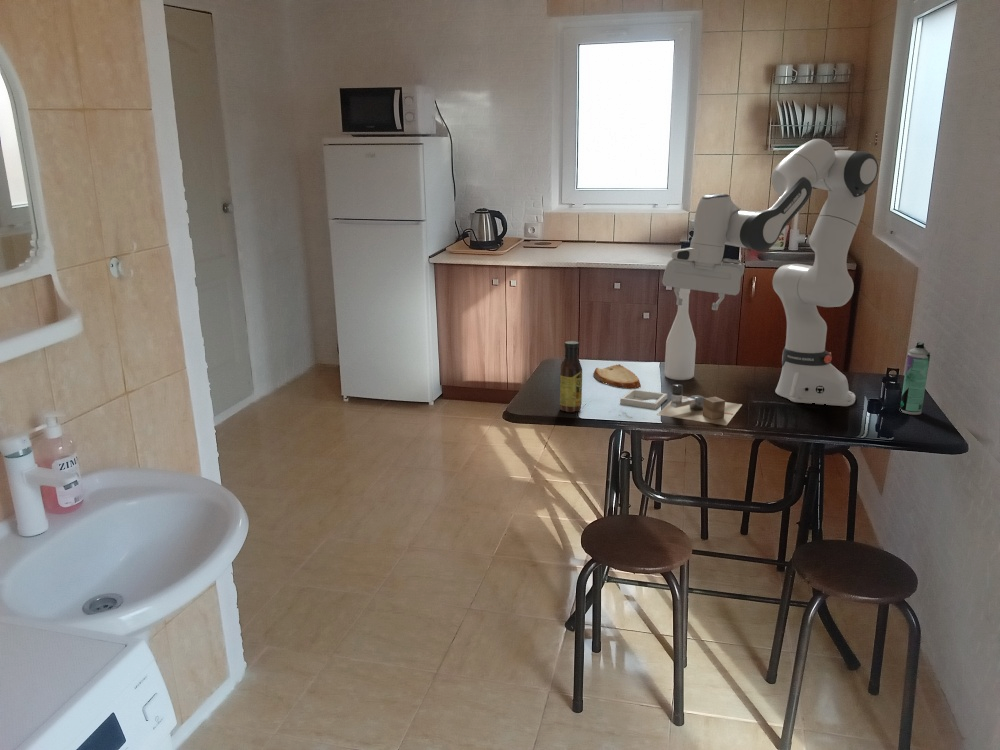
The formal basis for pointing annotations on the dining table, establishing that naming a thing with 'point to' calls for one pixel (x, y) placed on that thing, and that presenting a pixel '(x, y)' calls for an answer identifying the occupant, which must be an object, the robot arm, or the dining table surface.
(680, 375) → the wine bottle
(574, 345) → the sauce bottle
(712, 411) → the block
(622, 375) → the bread slice
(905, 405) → the spray can
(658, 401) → the tray
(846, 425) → the dining table surface
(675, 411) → the crank board
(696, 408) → the crank
